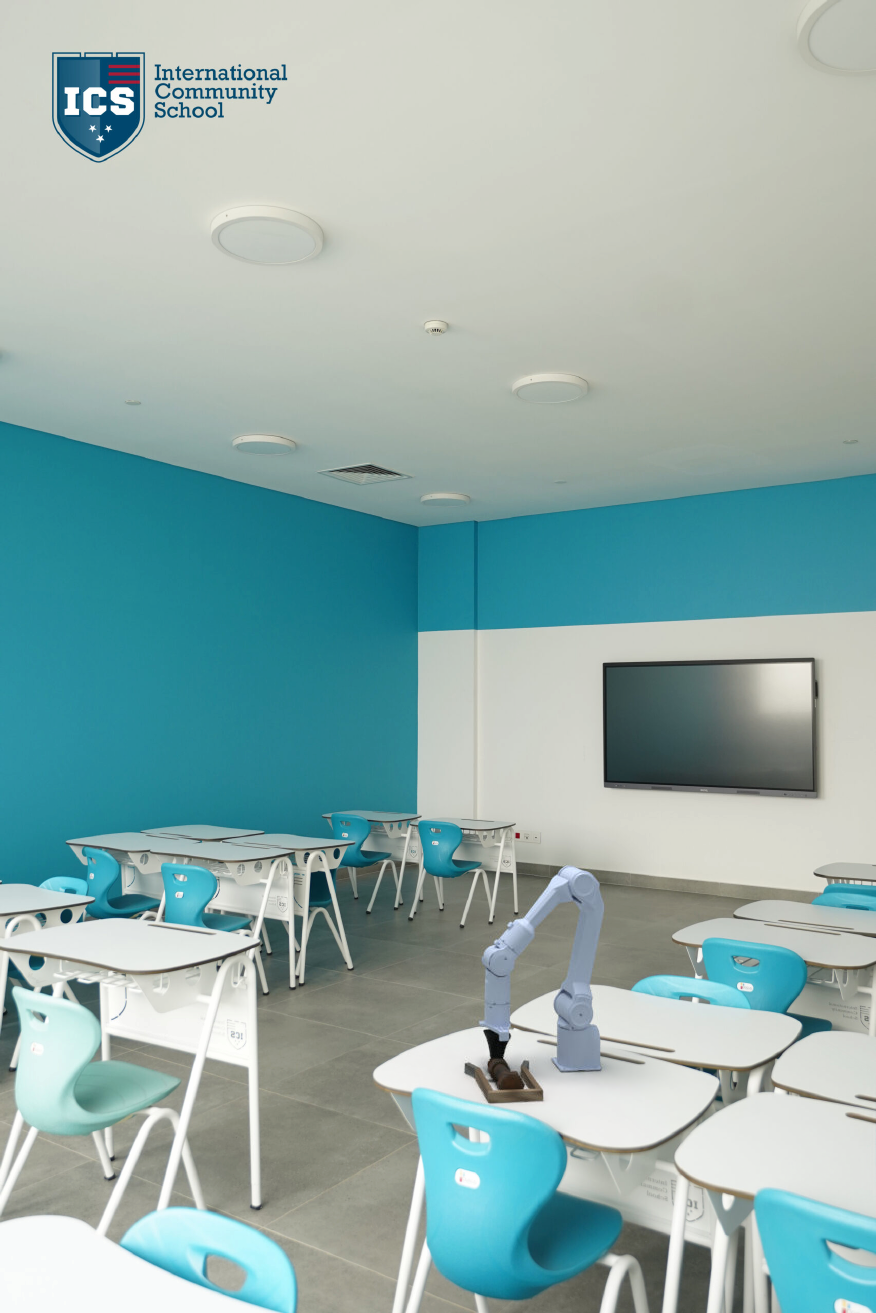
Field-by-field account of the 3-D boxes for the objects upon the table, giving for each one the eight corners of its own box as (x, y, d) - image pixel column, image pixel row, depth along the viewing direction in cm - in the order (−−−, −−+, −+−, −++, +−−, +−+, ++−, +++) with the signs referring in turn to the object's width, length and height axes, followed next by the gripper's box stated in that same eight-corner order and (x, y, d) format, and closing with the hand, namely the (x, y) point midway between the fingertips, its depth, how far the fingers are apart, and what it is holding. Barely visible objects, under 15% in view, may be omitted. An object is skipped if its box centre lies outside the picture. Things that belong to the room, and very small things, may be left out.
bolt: (497, 1081, 210) (515, 1105, 195) (477, 1070, 209) (494, 1093, 195) (509, 1056, 211) (528, 1078, 196) (490, 1046, 210) (508, 1067, 196)
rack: (528, 1069, 213) (528, 1059, 213) (550, 1100, 195) (551, 1089, 195) (464, 1071, 210) (464, 1062, 210) (480, 1103, 193) (481, 1093, 193)
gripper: (473, 993, 219) (472, 1053, 218) (486, 1011, 205) (485, 1076, 204) (503, 992, 220) (502, 1052, 219) (518, 1010, 206) (517, 1075, 205)
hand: (496, 1064), depth 211 cm, fingers closed
